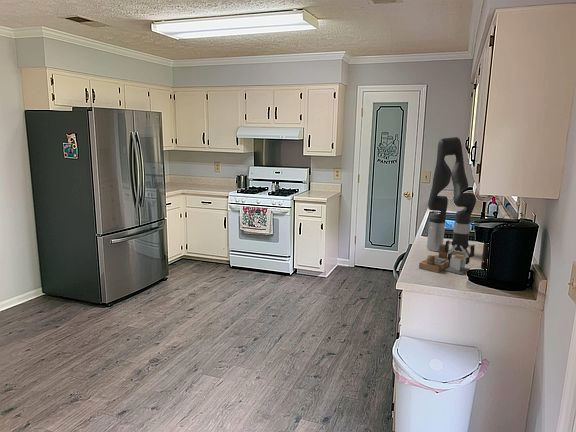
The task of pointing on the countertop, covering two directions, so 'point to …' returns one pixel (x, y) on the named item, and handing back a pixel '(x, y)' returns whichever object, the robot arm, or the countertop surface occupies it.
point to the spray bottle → (484, 256)
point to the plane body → (436, 261)
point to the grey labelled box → (457, 262)
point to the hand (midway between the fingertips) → (458, 262)
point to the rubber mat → (457, 271)
